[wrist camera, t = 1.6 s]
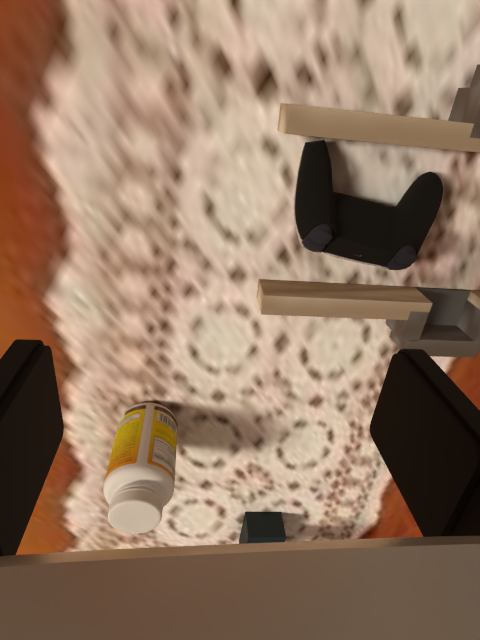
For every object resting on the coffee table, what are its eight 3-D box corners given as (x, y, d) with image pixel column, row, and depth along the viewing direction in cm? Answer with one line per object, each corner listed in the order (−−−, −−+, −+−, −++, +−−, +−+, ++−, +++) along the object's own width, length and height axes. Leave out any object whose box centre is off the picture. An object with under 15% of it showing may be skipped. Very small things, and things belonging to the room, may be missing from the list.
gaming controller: (286, 169, 30) (277, 252, 28) (309, 128, 26) (301, 222, 24) (409, 203, 32) (409, 282, 31) (449, 170, 28) (452, 259, 26)
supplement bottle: (115, 437, 39) (91, 537, 30) (124, 394, 37) (100, 489, 28) (171, 445, 40) (164, 543, 32) (183, 404, 38) (179, 498, 29)
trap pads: (479, 94, 27) (481, 94, 27) (545, 101, 28) (548, 101, 27) (403, 321, 35) (404, 323, 35) (454, 323, 36) (456, 325, 36)
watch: (287, 539, 50) (308, 643, 41) (225, 540, 49) (231, 647, 40) (297, 511, 48) (321, 615, 38) (230, 511, 46) (238, 618, 37)
